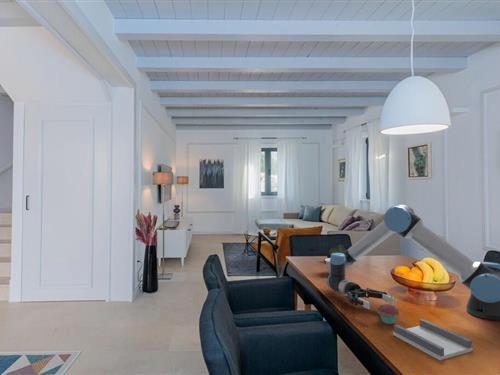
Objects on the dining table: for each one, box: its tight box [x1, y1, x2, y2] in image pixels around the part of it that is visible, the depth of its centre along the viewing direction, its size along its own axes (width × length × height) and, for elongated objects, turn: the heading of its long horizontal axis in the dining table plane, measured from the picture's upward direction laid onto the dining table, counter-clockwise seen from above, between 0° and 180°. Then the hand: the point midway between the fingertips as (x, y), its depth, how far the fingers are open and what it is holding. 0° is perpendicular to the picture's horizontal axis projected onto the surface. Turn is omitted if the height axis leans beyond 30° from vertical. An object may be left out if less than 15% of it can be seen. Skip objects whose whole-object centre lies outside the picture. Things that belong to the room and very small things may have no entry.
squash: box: [326, 244, 347, 259], centre depth 242 cm, size 14×15×15 cm
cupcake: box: [376, 293, 400, 325], centre depth 139 cm, size 9×8×12 cm
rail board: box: [392, 318, 473, 361], centre depth 121 cm, size 20×16×4 cm
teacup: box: [324, 257, 331, 275], centre depth 212 cm, size 12×15×10 cm
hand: (381, 303), depth 141 cm, fingers open, 13 cm apart
